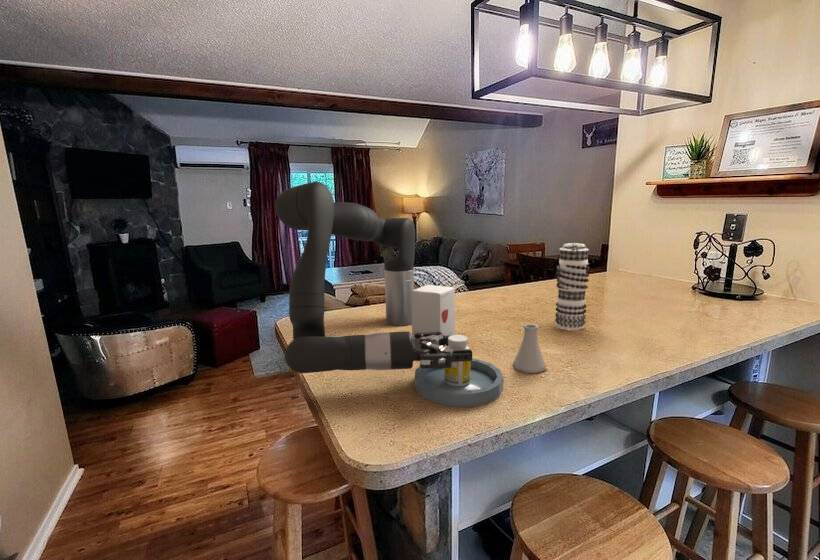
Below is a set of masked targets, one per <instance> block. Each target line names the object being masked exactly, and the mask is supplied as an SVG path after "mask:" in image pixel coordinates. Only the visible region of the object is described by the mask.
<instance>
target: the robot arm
mask: <svg viewBox="0 0 820 560" xmlns="http://www.w3.org/2000/svg"><path fill="white" fill-rule="evenodd" d="M274 209H275V214H276V216H277V217H278V219H279V221H280V222H281V223H282V224H284V225H285V226H286V227H287V228H289V229H291V230H294V231H307V236H306V242H305V245H304V249H303V251H302V253H301V255H300V258H299V260H298V262H297V264H296V266H295V269H294V271H293V274H292V276H291V279H290V284H289V294H288V295H289V298H288V302H289V303H288V313H289V315H288V316H289V320H290V322H291V325H292V340H291V341H290V343H289V344H287V346H286V348H285V352H284V360H285V363H286V365H287V366H288V367H289V369H290V370H291V371H293V372H295V373H299V374H312V373H323V372H330V371H331V372H332V371H339V370H340V371H366V370H367V371H391V370H393V371H394V370H410V369H412V368H413V365H414V362H419V366H420V368H423V369H424V368H451V364H453V362H460V361H471V360H472V359H473V351H472V349H471V348H470V349H460V350H449V349H445V347H447V346H449V345H448V337H449V336H445V335H444V334H441V332H427V333H415V334H414V339H413V340H412V332H411V331H408V330H407V331H394V332H393V331H387V332H374V333H368V334H353V335H352V334H351V335H344V336H343V335H341V336H326V329H325V328H326V327H325V285H326V284H325V282H326V269H327V263H328V262H327V261H328V257H329V251H330V245H331V238H332V235H334V236H336V237H337V236H338V237H342V238H343V237H344V238H346V239H350V240H355V241H360V242H361V241H362V242H373V243H376V244H378V245H380V246H382V247H385V248H390V249H391V248H395V249H398V253H397V254H396V255H395V256H394V257H392V258H391V257H390V258H388V259H386V260H385V261H384V263H383V264H384V265H383V267H384V288H385V289H384V291H385V293H384V294H385V295H384V296H385V319H386V320H385V321H386V324H388V325H391V326H397V327H398V326H408V325H412V290H415V275H414V274H415V273H414V270H415V269H414V264H415V255H416V254H415V253H416V228H415V223H414V221H413V220H412V219H411V218H409V217H386V218H385V217H379V216H378V215H377V213H376V211H374V210H373V209H372V208H369V207H367V206H365V205H362V204H359V203H356V202H347V201H346V202H343V201H342V202H341V201H339V202H338V201H334V196H333V194H332V192H331V190H330V188H329V187H328V186H327V185H326V184H324V183H323V182H320V181H311V182H307V183H304V184H301V185H296V186H292V187H290V188H287V189H285V190H284V191H282V192H280V194H279V195H277V197H276V199H275V203H274ZM450 336H452V335H450ZM445 344H446V345H445ZM442 362H443V363H442Z"/></svg>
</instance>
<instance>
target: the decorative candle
mask: <svg viewBox="0 0 820 560" xmlns="http://www.w3.org/2000/svg"><path fill="white" fill-rule="evenodd" d="M559 251H560V252H559V259H558V260H559V261H558V263H559V264H558V265H557V266H556V270H557V271H556V276H557V278H556V282H557V283H556V284H555V285H556V289H557V290H558V295H557V299H556V300H557V301H556V303H555V306H556V307H555V311H556V312H555V314H554V316H555V318H554V322H555V324H554V326H555V327H556V326H557V327H556V328H558V327H559V328H558V329H560V328H562V329H561V330H564V329H570V330H569V331H572V330H575V331H580V330H579V329H583V328H586V327H585V324H586V318H587V316H586V313H587V310H586V308H587V304H586V291H588V288H589V286H588V285H587V284H586V283H588V282H589V281H590V280H589V279H588V277H590V274H589V273H588V272H587V271H589V270H591V267H590V266H589V265H591V263H590V262H589V258H588V255H589V254H588V253H589V251H590V249H589V248H588V247H587V246H586V244H584V243H579V242H567V243H564V244H563V245H562V247H560V248H559ZM583 330H584V329H583Z"/></svg>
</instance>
